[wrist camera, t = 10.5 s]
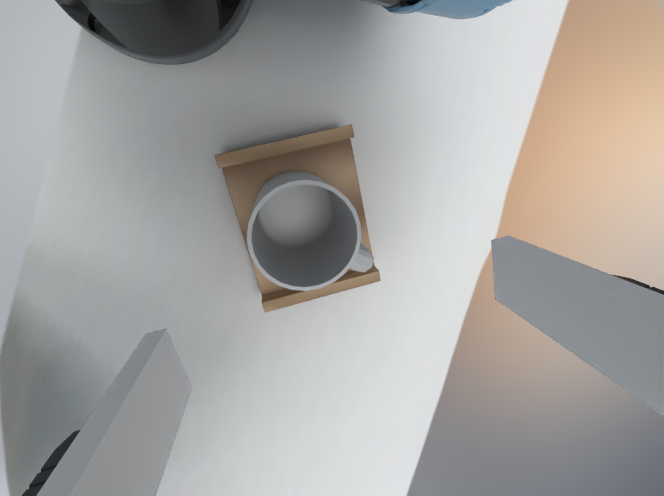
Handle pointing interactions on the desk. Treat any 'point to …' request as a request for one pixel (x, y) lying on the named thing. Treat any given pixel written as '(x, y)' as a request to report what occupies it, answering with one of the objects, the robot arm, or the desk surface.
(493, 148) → the desk surface
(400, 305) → the desk surface
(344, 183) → the wooden tray
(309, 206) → the cup
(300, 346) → the desk surface
